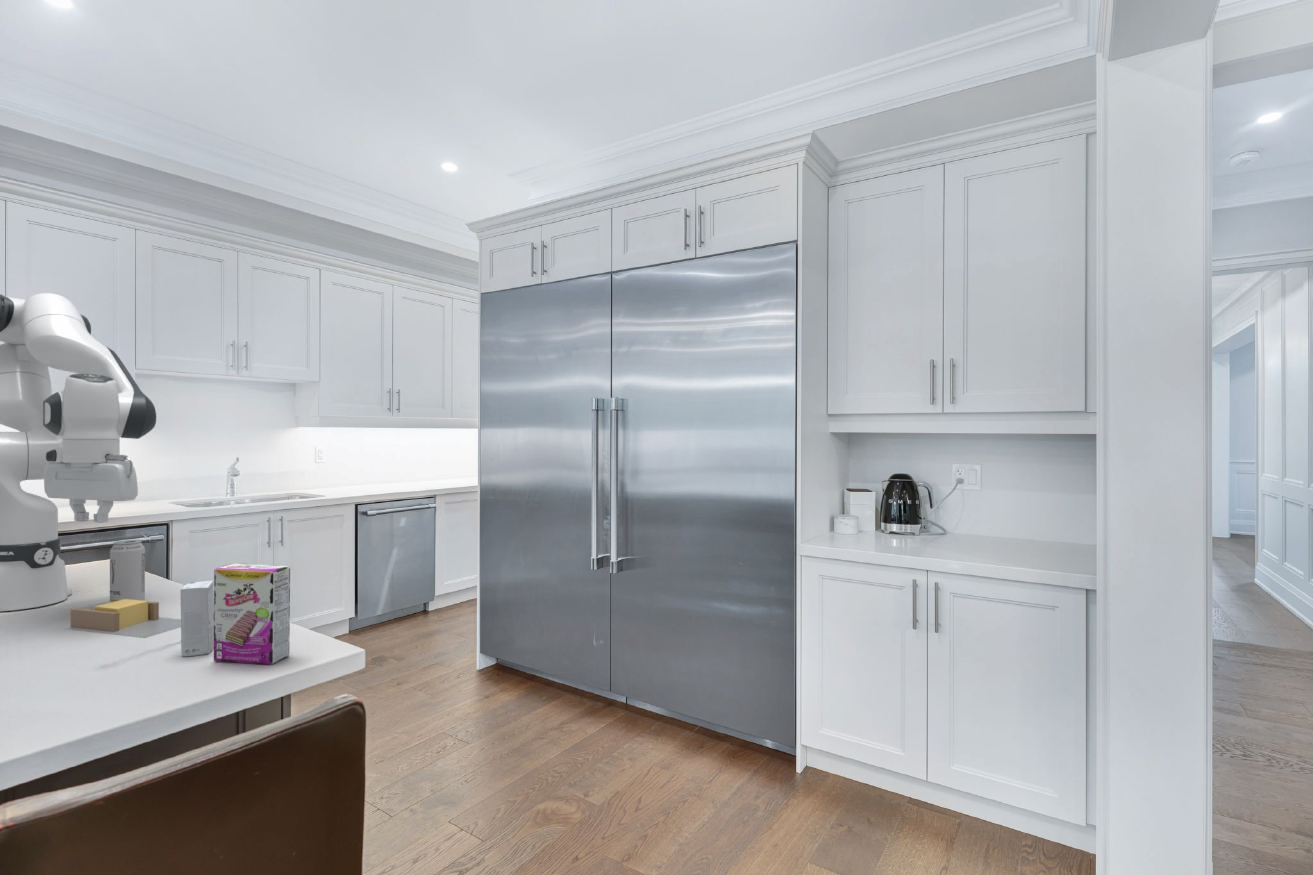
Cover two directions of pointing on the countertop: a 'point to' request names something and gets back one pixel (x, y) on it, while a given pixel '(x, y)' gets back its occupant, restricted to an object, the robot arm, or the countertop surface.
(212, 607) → the skincare box
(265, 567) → the candy bar box
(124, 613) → the ochre block
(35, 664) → the countertop surface
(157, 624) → the chute
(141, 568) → the energy drink can
